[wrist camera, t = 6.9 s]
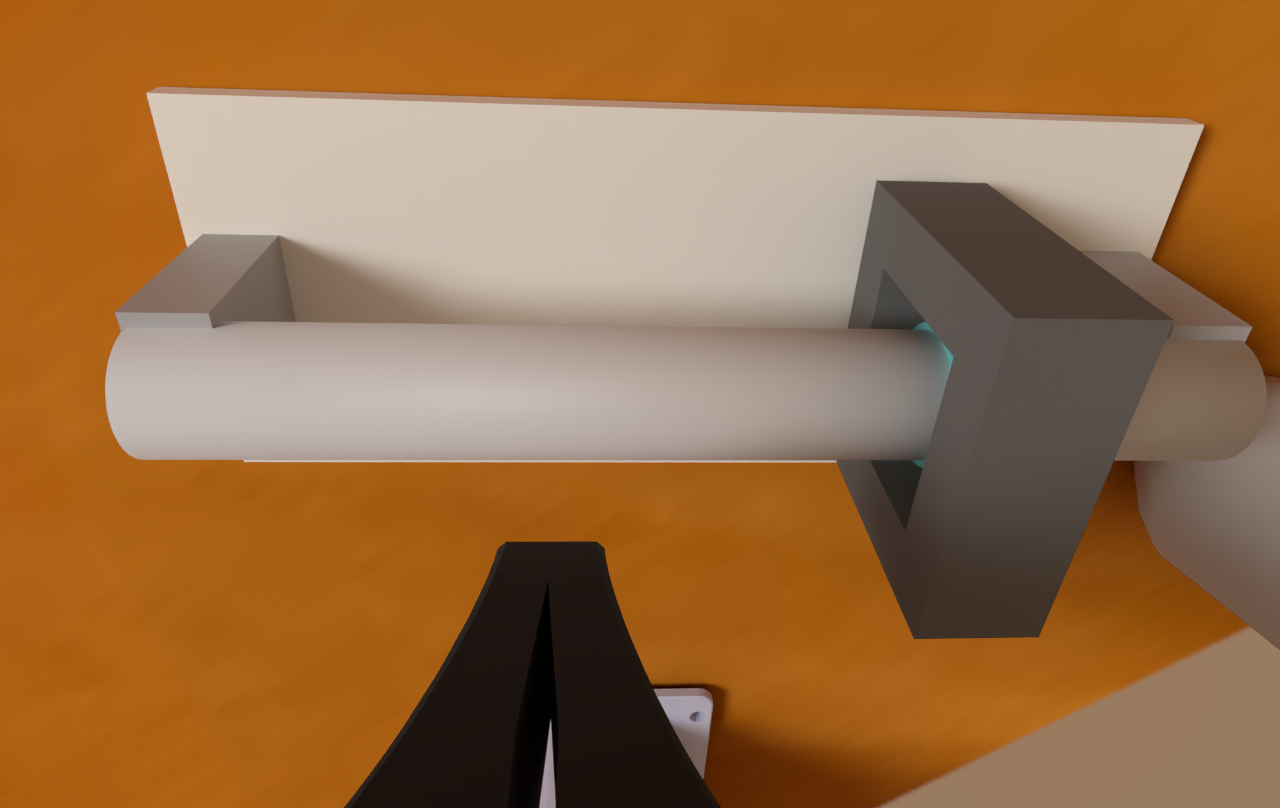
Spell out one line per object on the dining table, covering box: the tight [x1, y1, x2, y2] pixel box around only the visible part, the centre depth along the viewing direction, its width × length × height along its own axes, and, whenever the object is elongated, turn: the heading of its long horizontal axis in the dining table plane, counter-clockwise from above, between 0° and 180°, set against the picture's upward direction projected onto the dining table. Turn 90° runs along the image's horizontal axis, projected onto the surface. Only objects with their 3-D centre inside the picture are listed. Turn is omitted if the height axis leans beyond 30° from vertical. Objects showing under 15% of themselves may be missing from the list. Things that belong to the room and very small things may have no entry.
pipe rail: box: [105, 87, 1267, 468], centre depth 17 cm, size 22×9×6 cm, turn 88°
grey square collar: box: [836, 180, 1174, 639], centre depth 16 cm, size 2×7×7 cm, turn 178°
